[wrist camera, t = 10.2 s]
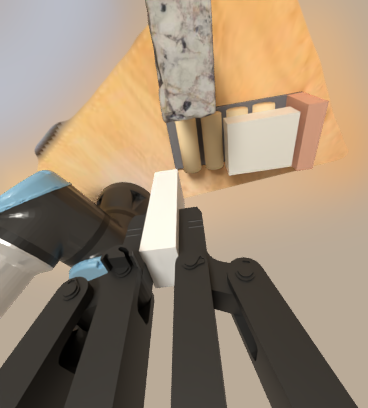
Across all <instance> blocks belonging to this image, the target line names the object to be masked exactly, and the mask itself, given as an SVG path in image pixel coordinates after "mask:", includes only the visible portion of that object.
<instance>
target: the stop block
mask: <svg viewBox="0 0 368 408" xmlns="http://www.w3.org/2000/svg"><path fill="white" fill-rule="evenodd" d="M286 95H287V94H286ZM328 102H329V101H327V100H324V99H321V98H318V97H316V96H313V95H310V94H307V93H304V92H301V93H296V94H294V93H293V94H292V93H291V94H290V95H289V94H288V95H287V100H286V107H292V108H294V109H296V110H298V111H300V118H299V124H298V130H297V136H296V142H295V147H294V153H293V159H292V165H291V166H292V167H293V168H294V169H295V170H296V171H299V170H306V169H312V168H313V164H314V160H315V156H316V152H317V148H318V144H319V139H320V135H321V131H322V127H323V123H324V119H325V115H326V111H327V107H328Z"/></svg>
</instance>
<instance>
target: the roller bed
mask: <svg viewBox="0 0 368 408" xmlns="http://www.w3.org/2000/svg"><path fill="white" fill-rule="evenodd" d="M297 93H301V92H297ZM292 94H293V93H292ZM294 94H296V93H294ZM287 95H288V94H287ZM287 95H280V96H274V97H269V98H263V99H258V100H252V101H246V102H241V103H235V104H230V105H224V106H218V107H216V112H215V113H214V114H212V115H210V116H206V117H203V118H192V119H189V120H182V121H173V122H169V123H166V124H167V129H168V134H169V139H170V144H171V148H172V153H173V158H174V163H175V167H176V169H181V168H184V171H185V172H186V173H196V172H198V171H200V170H201V165H206V168H207V169H210V170H217V169H220V168H222V167H223V166H224V162H225V145H224V122H223V118H227V117H232V116H238V115H244V114H250V113H255V112H261V111H267V110H273V109H278V108H284V107H286V100H287ZM289 95H290V94H289Z"/></svg>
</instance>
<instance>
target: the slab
mask: <svg viewBox="0 0 368 408" xmlns="http://www.w3.org/2000/svg"><path fill="white" fill-rule="evenodd" d="M299 118H300V111H298V110H296V109H294V108H292V107H284V108H278V109H273V110H267V111H261V112H255V113H250V114H244V115H238V116H232V117H227V118H223V122H224V145H225V166H226V169H227V172H228V174H229V175H236V174H243V173H250V172H256V171H263V170H270V169H277V168H283V167H290V166H291V165H292V159H293V153H294V147H295V142H296V136H297V130H298V124H299Z"/></svg>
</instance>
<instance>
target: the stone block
mask: <svg viewBox="0 0 368 408" xmlns="http://www.w3.org/2000/svg"><path fill="white" fill-rule="evenodd" d="M145 2H146V8H147V12H148V24H149V29H150V34H151V38H152V43H153V47H154V55H155V64H156V69H157V76H158V82H159V99H160V106H161V112H162V117H163V120H164V122H165V123H169V122H173V121H182V120H189V119H192V118H203V117H206V116H210V115H212V114H214V113H215V112H216V99H215V80H214V56H213V35H212V12H211V0H145Z"/></svg>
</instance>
